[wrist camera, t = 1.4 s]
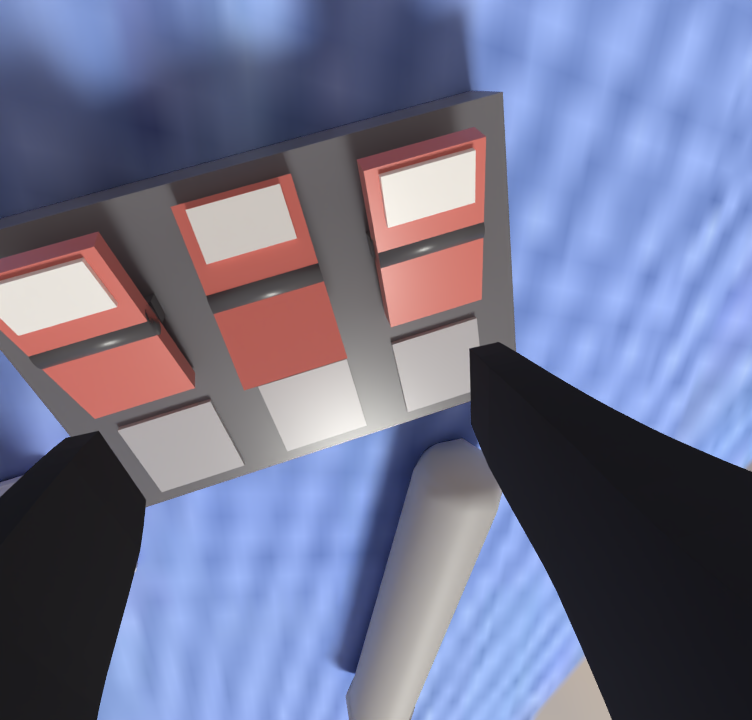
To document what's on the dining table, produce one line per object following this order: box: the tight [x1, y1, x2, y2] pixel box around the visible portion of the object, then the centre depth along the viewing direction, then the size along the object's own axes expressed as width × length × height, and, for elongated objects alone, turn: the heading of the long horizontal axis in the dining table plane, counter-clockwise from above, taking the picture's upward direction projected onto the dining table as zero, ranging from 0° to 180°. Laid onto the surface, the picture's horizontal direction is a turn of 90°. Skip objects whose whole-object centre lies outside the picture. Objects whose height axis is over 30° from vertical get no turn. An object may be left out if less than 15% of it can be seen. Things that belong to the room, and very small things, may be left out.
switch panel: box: [0, 91, 516, 507], centre depth 18 cm, size 18×12×3 cm, turn 102°
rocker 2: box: [171, 174, 347, 390], centre depth 15 cm, size 4×6×1 cm, turn 12°
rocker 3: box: [357, 127, 486, 327], centre depth 15 cm, size 4×6×1 cm, turn 12°
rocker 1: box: [0, 232, 195, 419], centre depth 14 cm, size 4×6×1 cm, turn 12°
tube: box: [346, 438, 502, 720], centre depth 29 cm, size 5×5×25 cm
